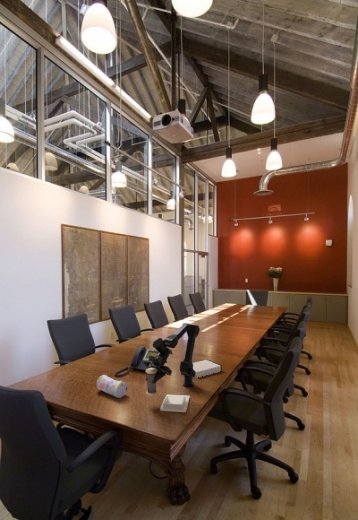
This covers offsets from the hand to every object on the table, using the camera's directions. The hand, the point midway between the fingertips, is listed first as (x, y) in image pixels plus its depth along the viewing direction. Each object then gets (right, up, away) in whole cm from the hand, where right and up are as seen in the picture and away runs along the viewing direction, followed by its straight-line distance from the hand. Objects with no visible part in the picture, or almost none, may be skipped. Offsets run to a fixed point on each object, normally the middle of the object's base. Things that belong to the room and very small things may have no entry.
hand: (149, 381), depth 153 cm
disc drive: (+34, -16, +52) cm, 64 cm away
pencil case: (-26, -15, +17) cm, 34 cm away
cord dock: (+14, -13, +1) cm, 20 cm away
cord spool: (+1, -7, +1) cm, 7 cm away
